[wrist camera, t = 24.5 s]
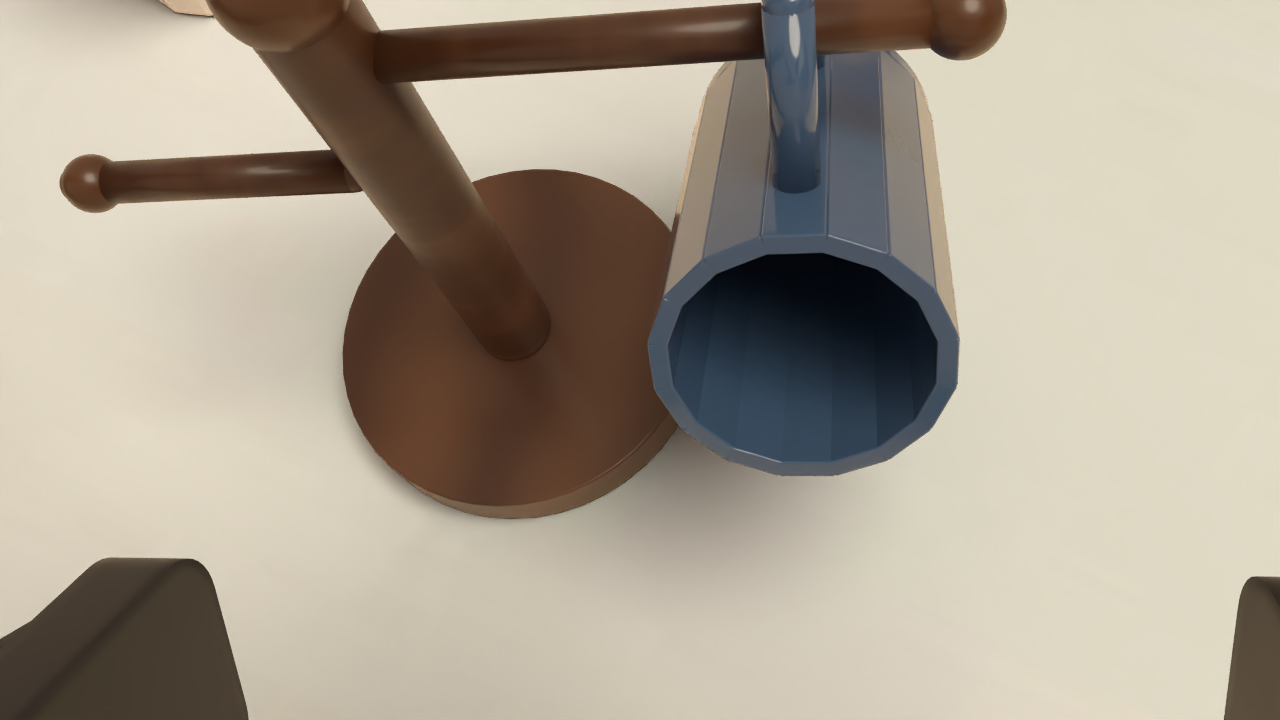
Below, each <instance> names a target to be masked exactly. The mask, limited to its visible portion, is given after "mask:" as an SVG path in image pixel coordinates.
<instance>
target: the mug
mask: <svg viewBox="0 0 1280 720" xmlns="http://www.w3.org/2000/svg"><path fill="white" fill-rule="evenodd" d="M761 12H762V27H763V42H764V57H765V59H756V60H740V61H726V62H725V63H724V64H723V65H722V66H721V68H720V69H719V70H718V71H717V73H716V74H715V76H714V77H713V79H712V81H711V82H710V84H709V86H708V88H707V90H706V93H705V95H704V98H703V100H702V104H701V108H700V112H699V116H698V119H697V122H696V125H695V128H694V132H693V137H692V141H691V146H690V150H689V155H688V159H687V164H686V168H685V173H684V177H683V182H682V187H681V191H680V196H679V200H678V205H677V209H676V214H675V218H674V223H673V227H672V232H671V236H670V241H669V246H668V250H667V255H666V259H665V264H664V268H663V273H662V277H661V282H660V286H659V291H658V295H657V300H656V304H655V309H654V314H653V318H652V323H651V327H650V332H649V336H648V343H647V348H648V354H649V360H650V367H651V373H652V380H653V386H654V389H655V392H656V393H657V395H658V396H659V398H660V399H661V401H662V402H663V403H664V405H665V406H666V408H667V409H668V411H669V412H670V414H671V415H672V417H673V418H674V419H675V421H676V422H677V424H678V425H679V427H680V428H681V429H682V430H683V431H684V432H685V433H686V434H688V435H689V436H691V437H692V438H694V439H695V440H697V441H698V442H700V443H701V444H703V445H704V446H705V447H707V448H708V449H710V450H711V451H713V452H714V453H716V454H717V455H719V456H720V457H722V458H723V459H726V460H727V461H730V462H733V463H737V464H740V465H744V466H747V467H750V468H754V469H757V470H760V471H764V472H767V473H771V474H774V475H780V476H834V475H841V474H844V473H847V472H851V471H854V470H858V469H861V468H864V467H868V466H871V465H874V464H878V463H881V462H885V461H887V460H888V459H891V458H892V457H894V456H895V455H897V454H898V453H899V452H901V451H902V450H904V449H905V448H906V447H908V446H909V445H911V444H912V443H913V442H915V441H916V440H918V439H919V438H920V437H922V436H923V435H925V434H926V433H927V432H929V431H930V430H931V429H932V428H933V426H934V424H935V423H936V421H937V419H938V418H939V416H940V414H941V413H942V411H943V409H944V408H945V406H946V404H947V403H948V401H949V399H950V398H951V396H952V394H953V393H954V391H955V389H956V386H957V384H958V366H959V345H960V337H959V329H958V321H957V313H956V305H955V297H954V289H953V281H952V273H951V265H950V257H949V249H948V241H947V233H946V225H945V217H944V209H943V201H942V193H941V185H940V177H939V169H938V161H937V153H936V145H935V137H934V129H933V121H932V116H931V113H930V111H929V108H928V103H927V99H926V96H925V93H924V91H923V88H922V86H921V84H920V82H919V80H918V78H917V76H916V75H915V73H914V72H913V70H912V69H911V68H910V66H909V65H908V64H907V62H906V61H905V60H904V59H903V58H902V57H901V56H900V55H899V54H898V53H897V52H896V51H879V52H863V53H848V54H832V55H817V52H816V25H815V0H762V1H761Z"/></svg>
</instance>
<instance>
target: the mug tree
mask: <svg viewBox="0 0 1280 720" xmlns="http://www.w3.org/2000/svg"><path fill="white" fill-rule="evenodd" d="M206 3H207V5H208V7H209V9H210V11H211V12H212V14H213V15H214V17H215V18H216V20H217V21H218V22H219V23H220V24H221V26H222V27H223V28H224V29H225V30H226V31H227V32H229V33H230V34H231V35H232V36H234V37H235V38H236V39H238V40H239V41H241V42H243V43H244V44H246V45H248V46H250V47H252V48H253V49H254V50H255V52H256V53H257V54H258V55H259V57H260V58H261V59H262V61H263V62H264V63H265V64H266V66H267V67H268V68H269V70H270V71H271V72H272V73H273V75H274V76H275V77H276V79H277V80H278V81H279V83H280V84H281V85H282V86H283V88H284V89H285V90H286V92H287V93H288V94H289V95H290V97H291V98H292V99H293V101H294V102H295V103H296V104H297V106H298V107H299V108H300V110H301V111H302V112H303V114H304V115H305V116H306V117H307V119H308V120H309V121H310V123H311V124H312V125H313V126H314V128H315V129H316V130H317V132H318V133H319V134H320V135H321V137H322V138H323V139H324V141H325V142H326V143H327V145H328V146H329V147H330V148H331V150H318V151H299V152H281V153H262V154H244V155H225V156H207V157H189V158H170V159H152V160H133V161H115V162H113V161H111V160H110V159H108V158H106V157H103V156H100V155H95V154H88V155H82V156H79V157H77V158H75V159H74V160H72V161H71V162H70V163H69V164H68V165H67V166H66V168H65V169H64V171H63V173H62V175H61V177H60V189H61V191H62V193H63V195H64V196H65V197H66V198H67V199H68V201H69V202H70V203H71V204H72V205H74V206H75V207H77V208H78V209H80V210H82V211H86V212H90V213H100V212H105V211H108V210H110V209H112V208H114V207H115V206H116V205H117V204H119V203H141V202H162V201H184V200H205V199H227V198H248V197H270V196H291V195H313V194H334V193H355V192H361V191H364V192H365V194H366V195H367V196H368V197H369V199H370V200H371V201H372V203H373V204H374V205H375V207H376V208H377V209H378V210H379V212H380V213H381V214H382V216H383V217H384V218H385V219H386V221H387V222H388V223H389V225H390V226H391V227H392V228H393V230H394V231H395V232H396V233H395V234H394V235H393V236H392V237H391V238H390V240H389V241H388V242H387V243H386V244H385V246H384V247H383V248H382V249H381V250H380V252H379V253H378V255H377V256H376V258H375V259H374V261H373V262H372V264H371V265H370V267H369V268H368V270H367V271H366V273H365V275H364V277H363V279H362V281H361V283H360V285H359V287H358V289H357V292H356V294H355V297H354V300H353V303H352V305H351V308H350V311H349V315H348V320H347V324H346V328H345V334H344V345H343V374H344V380H345V386H346V392H347V397H348V400H349V403H350V406H351V409H352V412H353V415H354V417H355V419H356V421H357V423H358V425H359V427H360V429H361V431H362V433H363V435H364V436H365V438H366V439H367V440H368V442H369V443H370V445H371V446H372V447H373V449H374V450H375V452H376V453H377V454H378V455H379V456H380V457H381V458H382V459H383V460H384V461H385V462H386V463H387V464H388V465H389V466H390V467H391V468H392V469H393V470H394V471H396V472H397V473H398V474H400V475H401V476H402V477H403V478H405V479H406V480H407V481H408V482H410V483H411V484H412V485H414V486H415V487H416V488H418V489H419V490H420V491H422V492H423V493H424V494H426V495H428V496H430V497H431V498H433V499H435V500H437V501H439V502H441V503H443V504H444V505H447V506H450V507H453V508H455V509H458V510H461V511H463V512H467V513H471V514H476V515H481V516H485V517H494V518H507V519H516V518H534V517H540V516H545V515H550V514H556V513H560V512H563V511H566V510H569V509H572V508H575V507H579V506H582V505H584V504H586V503H588V502H590V501H592V500H595V499H597V498H599V497H601V496H603V495H605V494H607V493H608V492H610V491H611V490H613V489H615V488H616V487H618V486H619V485H621V484H623V483H624V482H626V481H627V480H628V479H629V478H631V477H632V476H633V475H634V474H635V473H637V472H638V471H639V470H640V469H642V468H643V467H644V466H645V465H646V464H647V463H648V462H649V461H650V460H651V459H652V458H653V457H654V456H655V455H656V454H657V453H658V452H659V450H660V449H661V448H662V447H663V446H664V444H665V443H666V442H667V440H668V439H669V438H670V436H671V435H672V434H673V432H674V431H675V430H676V428H677V426H678V424H677V422H676V421H675V419H674V418H673V417H672V415H671V414H670V412H669V411H668V409H667V408H666V406H665V405H664V403H663V402H662V401H661V399H660V398H659V396H658V395H657V393H656V392H655V389H654V386H653V380H652V373H651V367H650V360H649V354H648V348H647V343H648V336H649V332H650V327H651V323H652V318H653V314H654V309H655V304H656V300H657V295H658V291H659V286H660V282H661V277H662V273H663V268H664V264H665V259H666V255H667V250H668V246H669V241H670V236H671V231H670V230H669V229H668V227H667V226H666V224H665V223H664V222H663V221H662V220H661V219H660V218H659V217H658V216H657V215H656V214H655V213H654V212H653V211H652V210H651V209H650V208H649V207H647V206H646V205H645V204H643V203H642V202H641V201H640V200H638V199H637V198H636V197H634V196H633V195H631V194H629V193H628V192H626V191H624V190H622V189H621V188H619V187H617V186H615V185H613V184H610V183H608V182H605V181H603V180H600V179H598V178H595V177H591V176H587V175H583V174H580V173H576V172H569V171H561V170H543V169H531V170H522V171H513V172H507V173H503V174H498V175H494V176H489V177H486V178H483V179H480V180H477V181H474V182H471V181H470V179H469V177H468V176H467V174H466V172H465V171H464V169H463V167H462V166H461V164H460V162H459V161H458V159H457V157H456V156H455V154H454V152H453V151H452V149H451V147H450V146H449V144H448V142H447V141H446V139H445V137H444V136H443V134H442V132H441V131H440V129H439V127H438V126H437V124H436V122H435V121H434V119H433V117H432V116H431V114H430V112H429V111H428V109H427V107H426V106H425V104H424V102H423V101H422V99H421V97H420V96H419V94H418V92H417V91H416V89H415V87H414V86H413V84H412V82H417V81H432V80H448V79H463V78H479V77H494V76H509V75H525V74H540V73H555V72H571V71H586V70H602V69H617V68H632V67H648V66H663V65H679V64H694V63H709V62H725V61H740V60H756V59H765V57H764V42H763V27H762V12H761V3H748V4H735V5H721V6H708V7H694V8H681V9H667V10H654V11H640V12H627V13H613V14H600V15H586V16H573V17H559V18H546V19H532V20H519V21H505V22H492V23H478V24H465V25H451V26H438V27H424V28H411V29H397V30H384V31H380V29H379V27H378V26H377V24H376V22H375V21H374V19H373V17H372V16H371V14H370V13H369V11H368V9H367V8H366V6H365V4H364V3H363V1H362V0H206ZM1006 18H1007V9H1006V3H1005V0H815V25H816V52H817V55H832V54H848V53H863V52H879V51H894V50H909V49H925V48H931V49H932V50H933V51H934V52H935V53H937V54H938V55H940V56H942V57H944V58H947V59H951V60H969V59H973V58H976V57H978V56H980V55H982V54H984V53H985V52H987V51H988V50H989V49H991V48H992V47H993V46H994V45H995V43H996V42H997V41H998V39H999V38H1000V36H1001V34H1002V32H1003V30H1004V27H1005V24H1006Z"/></svg>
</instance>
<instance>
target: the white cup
mask: <svg viewBox="0 0 1280 720" xmlns="http://www.w3.org/2000/svg"><path fill="white" fill-rule="evenodd" d="M159 1H160V2H162V3H163V4H165V5H166V6H167V7H169V8H170V9H172V10H173V11H175V12H177V13H187V14H196V15H206V16H212V15H213V14H212V12H211V11H210V9H209V7H208V5H207V3H206V0H159Z"/></svg>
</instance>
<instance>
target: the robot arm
mask: <svg viewBox="0 0 1280 720" xmlns="http://www.w3.org/2000/svg"><path fill="white" fill-rule="evenodd" d="M0 720H248V711H247V706H246V702H245V698H244V695H243V691H242V687H241V684H240V680H239V676H238V672H237V669H236V665H235V661H234V657H233V654H232V650H231V646H230V642H229V639H228V635H227V631H226V627H225V624H224V620H223V616H222V613H221V609H220V605H219V601H218V598H217V594H216V590H215V587H214V584H213V581H212V578H211V576H210V574H209V572H208V571H207V569H206V568H205V567H204V566H203V565H202V564H201V563H200V562H198V561H196V560H194V559H176V558H105V559H102V560H100V561H98V562H96V563H94V564H93V565H92V566H90V567H89V568H88V569H87V570H86V571H85V572H84V573H83V574H82V575H81V576H79V577H78V578H77V579H76V580H75V581H74V582H73V583H72V584H71V585H70V586H69V587H68V588H66V589H65V590H64V591H63V592H62V593H61V594H60V595H59V596H58V597H57V598H56V599H55V600H53V601H52V602H51V603H50V604H49V605H48V606H47V607H46V608H45V609H44V610H43V611H42V612H40V613H39V614H38V615H37V616H36V617H35V618H34V619H33V620H32V621H30V622H29V623H27V624H25V625H24V626H22V627H20V628H18V629H17V630H15V631H13V632H12V633H10V634H8V635H6V636H5V637H3V638H1V639H0ZM1224 720H1280V577H1251V578H1249V579H1248V580H1247V582H1246V583H1245V584H1244V587H1243V589H1242V592H1241V595H1240V599H1239V605H1238V611H1237V619H1236V627H1235V635H1234V643H1233V651H1232V659H1231V667H1230V675H1229V683H1228V691H1227V699H1226V707H1225V715H1224Z"/></svg>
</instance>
